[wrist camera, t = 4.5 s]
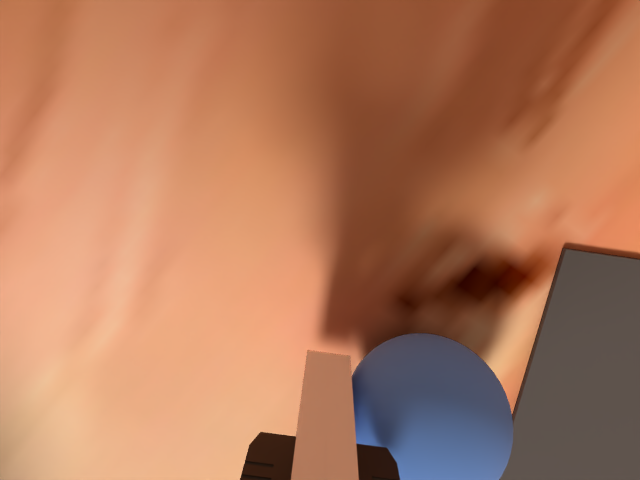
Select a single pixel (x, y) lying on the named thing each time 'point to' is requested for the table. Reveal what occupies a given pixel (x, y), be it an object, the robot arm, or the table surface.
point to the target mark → (583, 376)
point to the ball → (433, 409)
